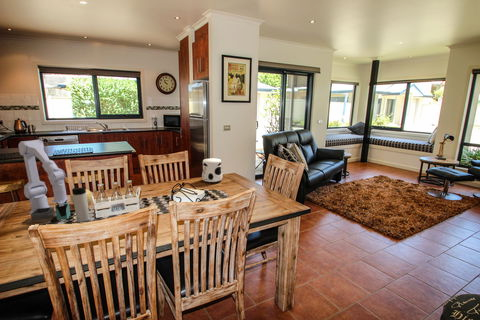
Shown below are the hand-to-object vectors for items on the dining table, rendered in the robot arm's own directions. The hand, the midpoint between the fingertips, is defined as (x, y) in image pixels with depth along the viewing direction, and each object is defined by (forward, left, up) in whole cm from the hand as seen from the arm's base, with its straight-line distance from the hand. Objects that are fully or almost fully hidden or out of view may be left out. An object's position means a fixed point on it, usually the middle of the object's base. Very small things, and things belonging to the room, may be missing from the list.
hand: (63, 213), depth 146 cm
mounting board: (-3, -11, -2) cm, 12 cm away
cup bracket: (-3, -11, -1) cm, 11 cm away
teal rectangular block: (0, 0, -2) cm, 2 cm away
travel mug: (+8, +12, -3) cm, 15 cm away
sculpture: (-19, +5, -3) cm, 20 cm away
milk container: (-45, +96, -3) cm, 106 cm away
